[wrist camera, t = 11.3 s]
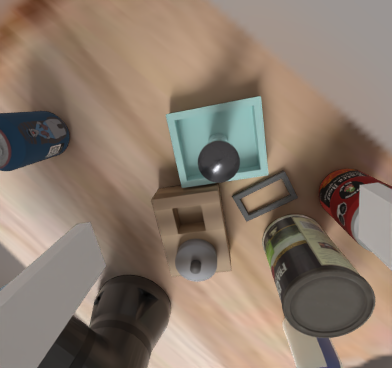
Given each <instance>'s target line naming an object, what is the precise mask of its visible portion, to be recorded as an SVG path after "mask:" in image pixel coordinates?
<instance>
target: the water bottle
mask: <svg viewBox="0 0 392 368" xmlns="http://www.w3.org/2000/svg"><path fill="white" fill-rule="evenodd" d="M282 325H283V329H284V332H285V335H286V337H287V340H288V343H289V346H290V349H291V352H292V355H293V358H294V362H295V365H296V368H343V365H342V363H341V361H340V358H339V356H338V354H337V352H336V350H335V347H334V345H333V343H332V341H331V339H330V338H317V337H312V336H308V335H305V334H303V333H301V332H299V331H297V330H296V329H294V328H293V327H292V326H291V325H290V324H289V323H288V321H287V320H286V318H284V320H283V323H282Z"/></svg>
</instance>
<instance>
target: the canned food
mask: <svg viewBox="0 0 392 368" xmlns="http://www.w3.org/2000/svg"><path fill="white" fill-rule="evenodd" d="M371 183H380V184H382V185H384V186H386V187H388V188H390V189H392V186H390V185H388V184H385V183H383V182H381V181H379V180H377V179H375V178H373V177H371V176H369V175H367V174H365V173H363V172H360V171H358V170H355V169H340V170H337V171H334V172H332V173H330V174H329V175H328V176H327V177H326V178H325V179H324V180H323V182H322V183H321V185H320V188H319V199H320V203H321V205H322V207H323V208H324V209H325V210H326V211H327V212H328V213H329V214H330V215H331V216H332V217H333V218H334V220H335V221H336V222H337V223H338V224H339V225H340V226H341V227H342V228H343V229H344V230H345V231H346V232H347V233H348V234H349V235H350V236H351V237H352V238H353V239H354V240H355V241H356V242H357V243H358V244H360V245H361V246H362V247H364V248H365V249H366V250H369V251H371V250H370V249H369V248H368V247H367V246H366V245H365V244H364V243H363V242H362V241H361V240H360V239H358V232H359V194H360V185H364V184H371ZM371 252H372V251H371Z"/></svg>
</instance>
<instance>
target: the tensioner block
mask: <svg viewBox="0 0 392 368" xmlns="http://www.w3.org/2000/svg"><path fill="white" fill-rule="evenodd" d="M151 202H152V205H153V209H154V213H155V217H156V220H157V224H158V228H159V232H160V236H161V239H162V243H163V247H164V251H165V254H166V258H167V262H168V266H169V270H170V273H171V277H177V276H183V277H184V278H186V279H188V280H191V281H204V280H207V279H209V278H210V277H212V276H213V275H214V273H218V272H228V271H231V259H230V250H229V244H228V238H227V232H226V226H225V219H224V213H223V207H222V201H221V195H220V189H219V183H212V184H206V185H199V186H192V187H185V188H182V187H181V185H179V186H173V187H166V188H160V189H158V191H157V192H156V194H155V195H154V197H153V198H152V200H151Z"/></svg>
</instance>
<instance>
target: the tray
mask: <svg viewBox="0 0 392 368" xmlns="http://www.w3.org/2000/svg"><path fill="white" fill-rule="evenodd" d="M166 118H167V123H168V127H169V132H170V136H171V141H172V145H173V150H174V155H175V159H176V164H177V168H178V173H179V178H180V182H181V187H182V188H185V187H192V186H199V185H206V184H212V183H216V182H212V181H209V180H207V179H206V178H205V177H204V176H203V175H202V174H201V173H200V171H199V168H198V157H199V154H200V151H201V150H202V148H203V147H204V146H205V145H206V144H208V141H209V138H210V137H211V136H212V135H213V134H215V133H221V134H224V135H225V136H226V137H227V139H228V143H230V144H232V145H233V146H234V147H235V149H236V150H237V152H238V155H239V158H240V166H239V169H238V172H237V173H236V175H235V176H234V177H233V178H231V179H230V180H228V181H232V180H239V179H246V178H252V177H259V176H266V175H268V165H267V154H266V144H265V134H264V123H263V113H262V103H261V96H257V97H252V98H247V99H242V100H237V101H231V102H226V103H221V104H216V105H211V106H206V107H201V108H196V109H191V110H185V111H180V112H175V113H170V114H166Z"/></svg>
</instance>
